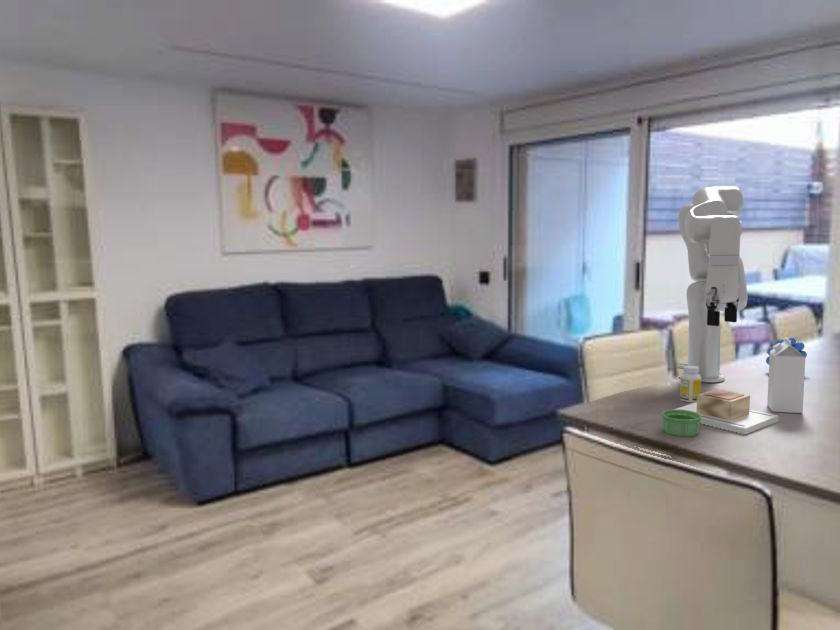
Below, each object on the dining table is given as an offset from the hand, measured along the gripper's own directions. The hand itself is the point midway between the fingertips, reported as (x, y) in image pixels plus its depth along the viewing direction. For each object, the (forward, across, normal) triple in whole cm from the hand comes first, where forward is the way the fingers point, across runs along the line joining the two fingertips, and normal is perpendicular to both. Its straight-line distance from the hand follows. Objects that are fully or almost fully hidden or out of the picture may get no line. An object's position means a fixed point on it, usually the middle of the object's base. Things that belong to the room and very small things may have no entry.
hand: (722, 323), depth 176 cm
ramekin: (+23, +32, +6) cm, 40 cm away
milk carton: (+22, -5, +15) cm, 27 cm away
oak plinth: (+21, +15, +8) cm, 27 cm away
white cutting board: (+22, +15, +8) cm, 28 cm away
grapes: (+22, -50, -3) cm, 54 cm away
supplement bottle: (+22, +4, -6) cm, 24 cm away
